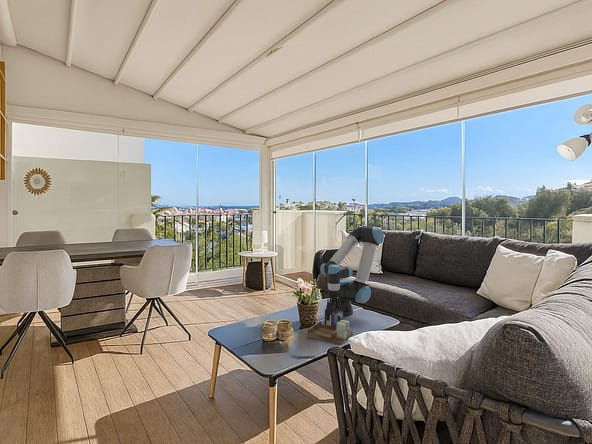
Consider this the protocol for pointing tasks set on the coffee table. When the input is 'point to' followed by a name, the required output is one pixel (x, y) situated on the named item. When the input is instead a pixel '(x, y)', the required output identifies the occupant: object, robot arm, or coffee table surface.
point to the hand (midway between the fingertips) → (333, 322)
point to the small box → (335, 316)
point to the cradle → (330, 332)
